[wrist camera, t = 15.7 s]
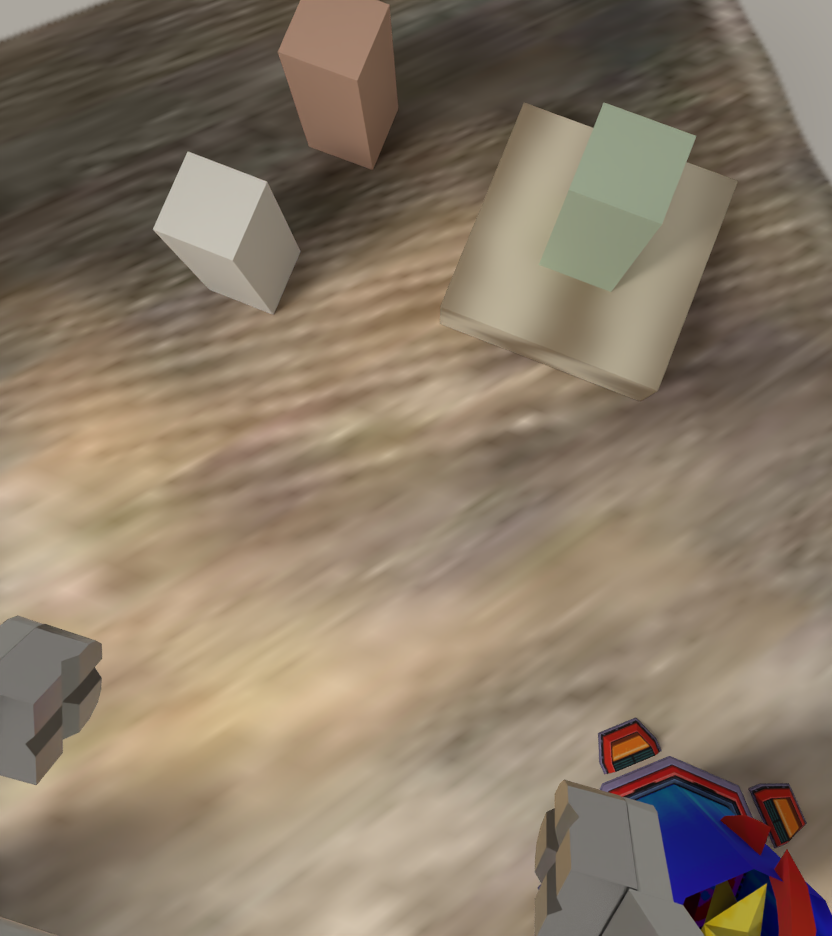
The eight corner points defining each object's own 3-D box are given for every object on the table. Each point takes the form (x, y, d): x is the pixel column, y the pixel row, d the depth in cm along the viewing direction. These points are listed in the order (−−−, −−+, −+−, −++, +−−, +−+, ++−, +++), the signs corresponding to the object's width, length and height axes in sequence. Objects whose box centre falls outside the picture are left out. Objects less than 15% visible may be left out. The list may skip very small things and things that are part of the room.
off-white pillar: (209, 289, 39) (152, 229, 31) (236, 227, 40) (187, 151, 32) (273, 314, 39) (232, 260, 31) (300, 251, 39) (267, 181, 31)
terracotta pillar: (309, 146, 40) (277, 52, 32) (335, 85, 40) (310, -24, 32) (372, 170, 40) (357, 80, 32) (398, 108, 40) (389, 4, 32)
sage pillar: (538, 264, 36) (568, 189, 28) (566, 196, 36) (603, 102, 28) (611, 292, 36) (661, 224, 28) (638, 222, 36) (696, 135, 28)
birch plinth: (439, 323, 39) (440, 306, 36) (517, 134, 40) (523, 102, 37) (640, 401, 38) (658, 390, 35) (714, 207, 39) (738, 180, 36)
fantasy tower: (738, 1012, 35) (894, 1259, 23) (525, 916, 36) (571, 1108, 24) (817, 794, 36) (1006, 925, 24) (607, 704, 37) (692, 788, 25)
